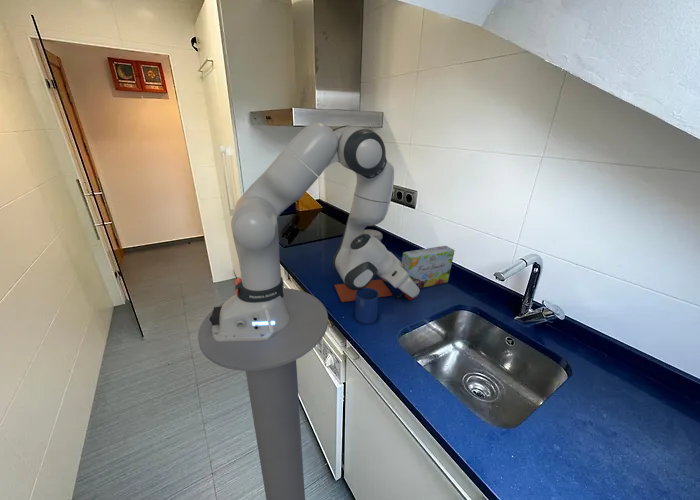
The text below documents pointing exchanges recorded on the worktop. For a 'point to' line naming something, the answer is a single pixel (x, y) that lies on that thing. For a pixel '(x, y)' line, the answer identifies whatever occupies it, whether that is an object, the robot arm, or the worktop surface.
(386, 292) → the red mat
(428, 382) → the worktop surface
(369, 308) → the blue cup
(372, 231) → the disposable coffee cup
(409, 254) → the snack box
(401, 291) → the pomegranate
